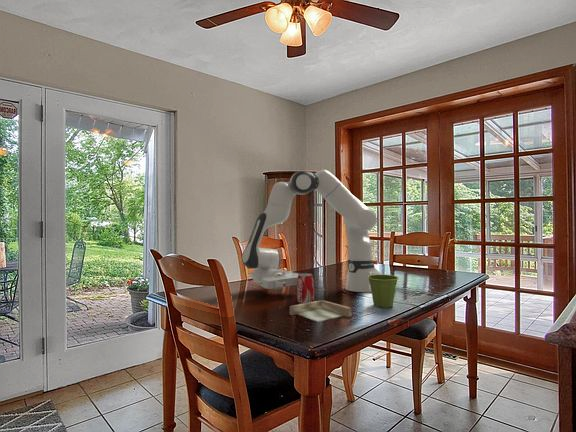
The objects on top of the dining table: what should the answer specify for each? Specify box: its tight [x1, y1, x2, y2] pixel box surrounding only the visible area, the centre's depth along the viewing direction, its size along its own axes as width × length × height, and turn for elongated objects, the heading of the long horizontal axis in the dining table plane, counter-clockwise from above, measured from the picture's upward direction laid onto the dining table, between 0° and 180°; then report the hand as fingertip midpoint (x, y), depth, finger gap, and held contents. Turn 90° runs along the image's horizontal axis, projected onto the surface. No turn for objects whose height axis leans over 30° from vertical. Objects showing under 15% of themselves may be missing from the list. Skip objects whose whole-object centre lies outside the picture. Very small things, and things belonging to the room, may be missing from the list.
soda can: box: [296, 272, 315, 304], centre depth 142 cm, size 7×7×12 cm
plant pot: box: [367, 273, 399, 309], centre depth 138 cm, size 12×12×11 cm
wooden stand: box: [289, 299, 352, 323], centre depth 126 cm, size 16×16×3 cm
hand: (293, 283), depth 150 cm, fingers open, 8 cm apart
